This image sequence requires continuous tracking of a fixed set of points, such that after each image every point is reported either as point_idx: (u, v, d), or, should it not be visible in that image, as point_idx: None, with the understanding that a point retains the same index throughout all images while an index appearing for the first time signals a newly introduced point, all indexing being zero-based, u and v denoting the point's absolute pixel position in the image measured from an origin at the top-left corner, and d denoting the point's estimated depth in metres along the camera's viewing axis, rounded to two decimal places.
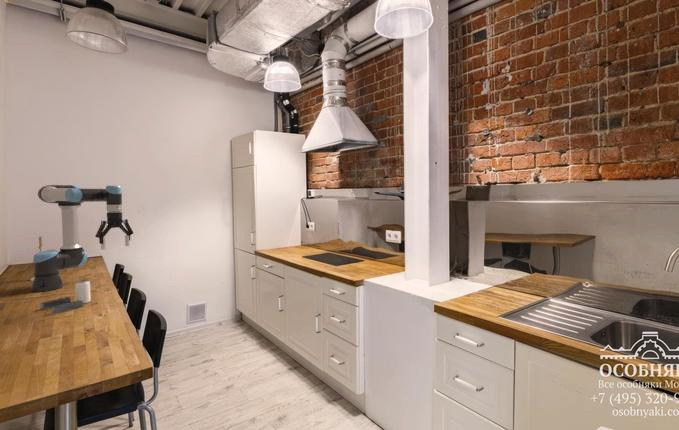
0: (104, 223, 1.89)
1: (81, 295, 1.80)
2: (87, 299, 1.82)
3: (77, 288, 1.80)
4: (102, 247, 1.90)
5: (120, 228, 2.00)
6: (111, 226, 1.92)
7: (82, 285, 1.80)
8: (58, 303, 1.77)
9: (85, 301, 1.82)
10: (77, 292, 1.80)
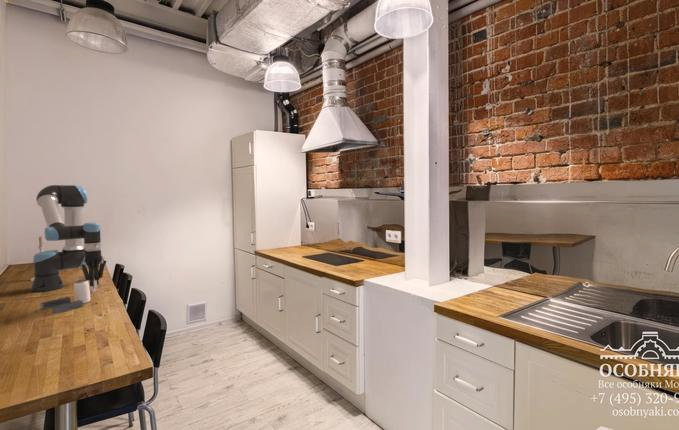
0: (84, 266, 1.82)
1: (80, 295, 1.80)
2: (87, 299, 1.82)
3: (76, 288, 1.79)
4: (93, 289, 1.87)
5: None
6: (92, 266, 1.85)
7: (81, 285, 1.80)
8: (58, 303, 1.77)
9: (85, 301, 1.81)
10: (76, 292, 1.79)
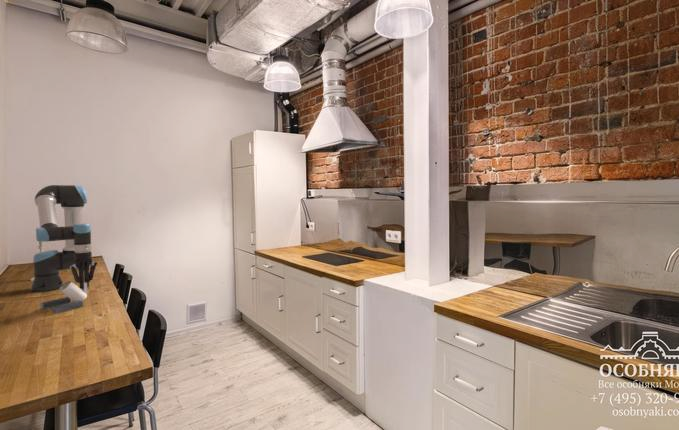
0: (73, 268, 1.78)
1: (74, 297, 1.77)
2: (83, 296, 1.81)
3: (65, 294, 1.75)
4: None
5: None
6: (82, 268, 1.81)
7: (68, 289, 1.74)
8: (58, 303, 1.77)
9: (82, 299, 1.80)
10: (69, 296, 1.77)
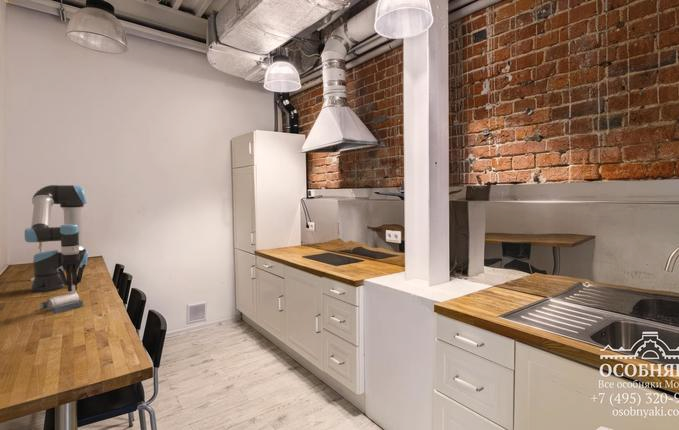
0: (60, 271, 1.72)
1: None
2: (75, 298, 1.77)
3: None
4: None
5: None
6: (70, 270, 1.76)
7: None
8: None
9: (77, 300, 1.78)
10: None
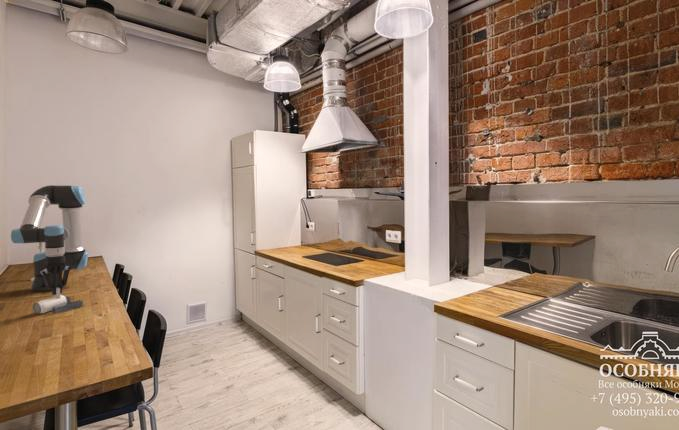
0: (44, 273, 1.66)
1: None
2: (62, 299, 1.73)
3: (47, 311, 1.67)
4: None
5: (56, 275, 1.73)
6: (54, 273, 1.70)
7: (45, 308, 1.65)
8: None
9: (65, 300, 1.74)
10: None
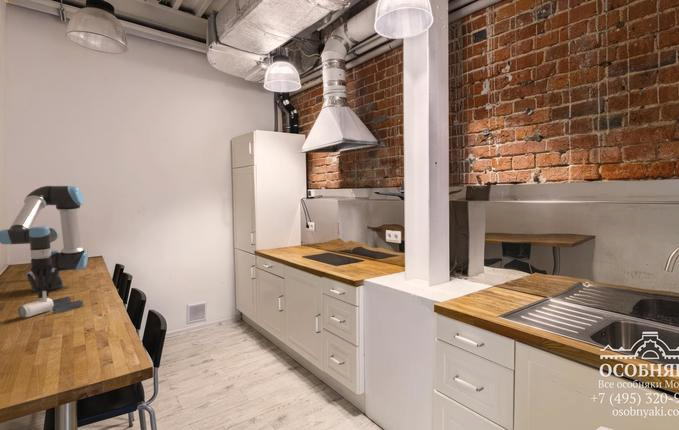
0: (30, 276, 1.61)
1: (43, 309, 1.65)
2: (49, 302, 1.68)
3: (33, 315, 1.62)
4: None
5: (43, 278, 1.67)
6: (40, 275, 1.64)
7: (30, 312, 1.60)
8: (58, 303, 1.77)
9: (51, 304, 1.69)
10: (38, 313, 1.64)
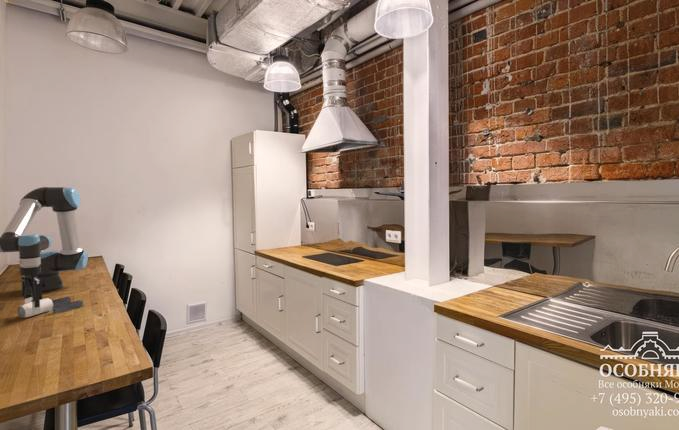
0: (22, 280, 1.64)
1: (42, 309, 1.65)
2: (48, 302, 1.68)
3: (32, 315, 1.62)
4: None
5: None
6: (24, 284, 1.62)
7: (29, 311, 1.60)
8: (58, 303, 1.77)
9: (51, 303, 1.69)
10: (38, 313, 1.64)
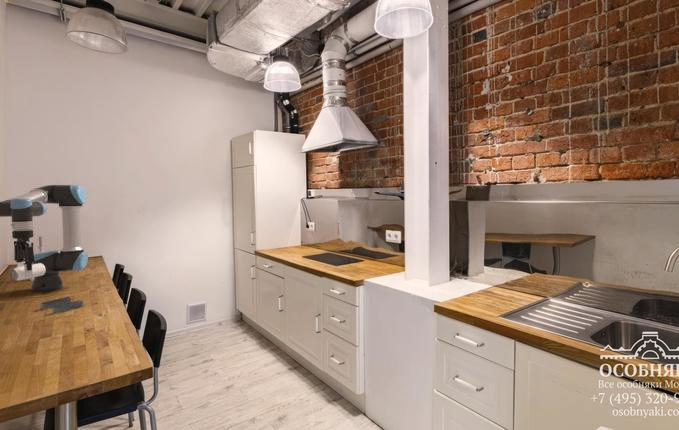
0: (14, 244, 1.66)
1: (35, 273, 1.67)
2: (41, 267, 1.69)
3: (25, 278, 1.63)
4: None
5: None
6: (17, 247, 1.64)
7: (21, 274, 1.61)
8: (58, 303, 1.77)
9: (43, 268, 1.70)
10: (30, 277, 1.65)
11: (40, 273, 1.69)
